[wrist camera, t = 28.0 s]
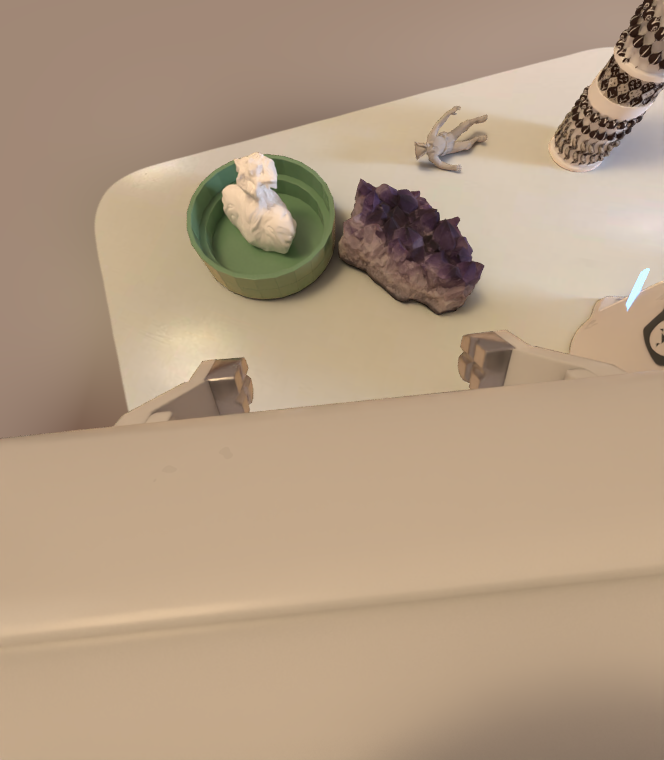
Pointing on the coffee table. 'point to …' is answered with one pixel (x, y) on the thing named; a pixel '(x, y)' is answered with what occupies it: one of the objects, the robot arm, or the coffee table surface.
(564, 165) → the decorative candle
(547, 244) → the coffee table surface
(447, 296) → the geode
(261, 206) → the bust
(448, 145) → the grey figurine
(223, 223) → the bowl
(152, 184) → the coffee table surface
